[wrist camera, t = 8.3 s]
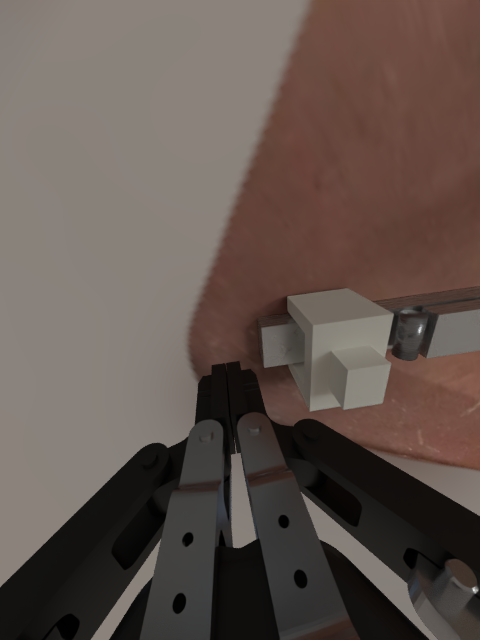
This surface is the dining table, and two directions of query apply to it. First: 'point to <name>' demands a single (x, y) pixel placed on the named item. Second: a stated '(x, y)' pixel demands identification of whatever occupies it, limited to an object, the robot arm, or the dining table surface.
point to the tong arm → (451, 329)
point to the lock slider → (341, 349)
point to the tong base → (408, 321)
